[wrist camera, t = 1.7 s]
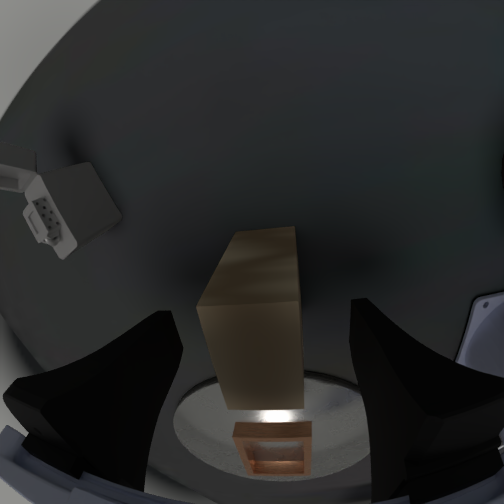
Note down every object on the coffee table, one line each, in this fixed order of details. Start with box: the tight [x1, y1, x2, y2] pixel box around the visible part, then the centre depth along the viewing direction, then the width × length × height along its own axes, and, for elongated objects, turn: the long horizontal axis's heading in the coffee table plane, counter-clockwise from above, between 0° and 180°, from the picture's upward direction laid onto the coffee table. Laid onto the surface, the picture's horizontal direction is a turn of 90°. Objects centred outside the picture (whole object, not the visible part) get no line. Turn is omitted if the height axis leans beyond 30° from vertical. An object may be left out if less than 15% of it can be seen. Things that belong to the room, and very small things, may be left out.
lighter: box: [0, 142, 122, 259], centre depth 11 cm, size 7×2×8 cm, turn 31°
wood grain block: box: [196, 226, 304, 410], centre depth 12 cm, size 3×5×7 cm, turn 8°
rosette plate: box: [173, 371, 370, 481], centre depth 20 cm, size 18×18×2 cm
